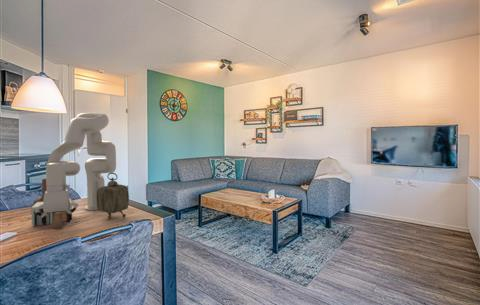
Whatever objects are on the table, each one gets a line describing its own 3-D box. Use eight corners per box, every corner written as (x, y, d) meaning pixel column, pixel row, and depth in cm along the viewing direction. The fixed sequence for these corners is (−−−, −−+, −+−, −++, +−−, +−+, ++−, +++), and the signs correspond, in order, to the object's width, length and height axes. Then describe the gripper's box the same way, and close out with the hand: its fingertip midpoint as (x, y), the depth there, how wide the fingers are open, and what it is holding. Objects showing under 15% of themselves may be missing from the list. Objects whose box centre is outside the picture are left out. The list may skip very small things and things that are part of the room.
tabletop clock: (129, 216, 134) (128, 172, 133) (116, 221, 126) (115, 174, 125) (109, 214, 139) (108, 171, 138) (95, 218, 130) (94, 173, 129)
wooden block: (33, 207, 152) (32, 179, 151) (35, 206, 156) (34, 178, 155) (51, 206, 156) (50, 178, 156) (52, 204, 160) (51, 177, 160)
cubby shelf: (71, 215, 136) (71, 199, 136) (69, 221, 126) (69, 203, 125) (37, 219, 128) (36, 202, 128) (32, 226, 118) (31, 207, 118)
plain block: (51, 220, 127) (50, 211, 127) (49, 223, 123) (49, 213, 123) (39, 222, 125) (38, 212, 125) (36, 225, 121) (36, 215, 120)
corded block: (67, 218, 131) (67, 205, 131) (63, 227, 116) (63, 213, 116) (56, 219, 128) (55, 207, 128) (50, 229, 114) (50, 215, 113)
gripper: (78, 185, 123) (79, 218, 124) (35, 188, 114) (36, 224, 115) (77, 187, 117) (78, 222, 117) (31, 191, 108) (32, 228, 109)
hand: (57, 223), depth 116 cm, fingers open, 9 cm apart
